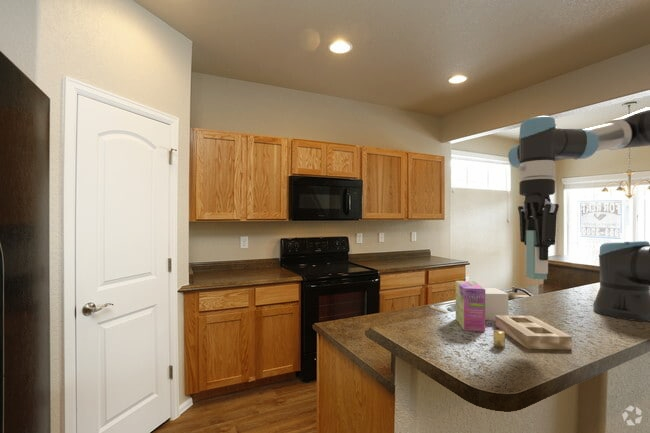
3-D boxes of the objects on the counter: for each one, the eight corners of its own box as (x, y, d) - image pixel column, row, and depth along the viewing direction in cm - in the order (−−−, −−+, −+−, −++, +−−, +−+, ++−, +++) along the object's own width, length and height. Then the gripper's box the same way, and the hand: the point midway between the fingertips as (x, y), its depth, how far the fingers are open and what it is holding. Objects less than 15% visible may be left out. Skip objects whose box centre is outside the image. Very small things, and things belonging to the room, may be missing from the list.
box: (486, 332, 86) (485, 288, 86) (463, 330, 87) (463, 287, 87) (475, 319, 96) (474, 281, 96) (455, 318, 97) (455, 280, 97)
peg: (539, 277, 81) (539, 230, 82) (546, 279, 78) (546, 230, 78) (526, 276, 82) (526, 230, 82) (533, 279, 78) (533, 230, 79)
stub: (502, 344, 77) (501, 330, 77) (507, 348, 75) (506, 333, 75) (491, 344, 77) (491, 330, 77) (496, 348, 75) (496, 333, 75)
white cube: (495, 312, 103) (495, 288, 103) (508, 320, 95) (508, 293, 95) (470, 312, 104) (470, 287, 104) (481, 320, 96) (481, 293, 96)
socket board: (531, 326, 90) (531, 315, 90) (571, 349, 74) (571, 336, 74) (495, 325, 91) (495, 315, 91) (527, 348, 75) (527, 335, 75)
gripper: (505, 183, 89) (505, 266, 88) (540, 175, 72) (540, 277, 72) (533, 183, 88) (533, 267, 88) (575, 175, 72) (575, 278, 72)
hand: (536, 271), depth 80 cm, fingers closed on peg, 3 cm apart
